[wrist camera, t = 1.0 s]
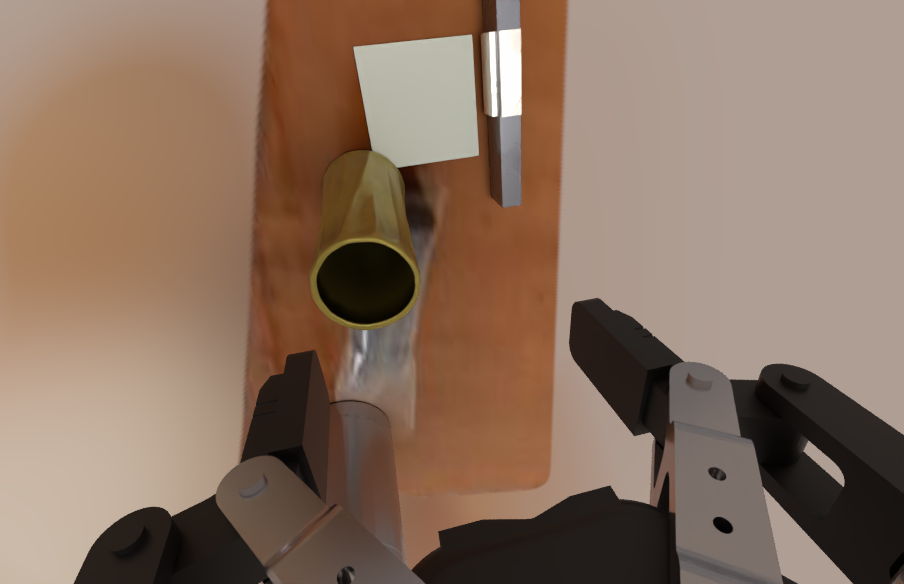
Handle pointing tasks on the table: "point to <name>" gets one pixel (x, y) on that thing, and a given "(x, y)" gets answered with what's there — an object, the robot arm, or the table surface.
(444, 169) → the table surface
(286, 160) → the table surface
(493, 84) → the price rail
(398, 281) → the vase
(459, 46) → the pad
